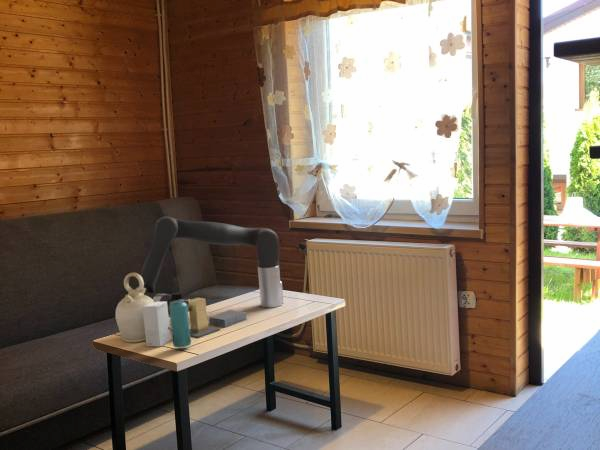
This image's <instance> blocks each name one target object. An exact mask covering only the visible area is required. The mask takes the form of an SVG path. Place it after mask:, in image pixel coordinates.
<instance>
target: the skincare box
mask: <svg viewBox="0 0 600 450" xmlns="http://www.w3.org/2000/svg"><path fill="white" fill-rule="evenodd" d="M143 316H144V326H145V335H146V341H145V342H146V347H155V348H160V347H162V346H164V345H166V344H168V342H171V341H172V333H171V324H170V314H168V306H167V302H165V301H164V302H152V303H150V304H147V305H145V306H143Z"/></svg>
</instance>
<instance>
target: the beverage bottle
mask: <svg viewBox="0 0 600 450" xmlns="http://www.w3.org/2000/svg"><path fill="white" fill-rule="evenodd" d="M170 295H171V300H184V294H183V292H182V291H178V292H176V291H175V292H172V293H171V294H170ZM187 307H188V305H187V304H186V303H185V302H183V301H177V302H173V303H172V304H171V305H170V306H169V309H170V314H169V320H170V330H171V341H172V345H173V347H174V348H185V347H188V346H190V345H191V343H192V338H191V336H190V329H191V326H190V318H189V309H187Z"/></svg>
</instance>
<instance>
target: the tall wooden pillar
mask: <svg viewBox="0 0 600 450" xmlns="http://www.w3.org/2000/svg"><path fill="white" fill-rule="evenodd" d="M191 299H192V300H189V301H188V303H189V309H188V315H189V326H190V329H191V332H196V333H199V332H202V331H205V330H208V326H209V322H208V312H207V303H206V302H207V301H206V300H207V299H206V298H203V297H196V298H191Z"/></svg>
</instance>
